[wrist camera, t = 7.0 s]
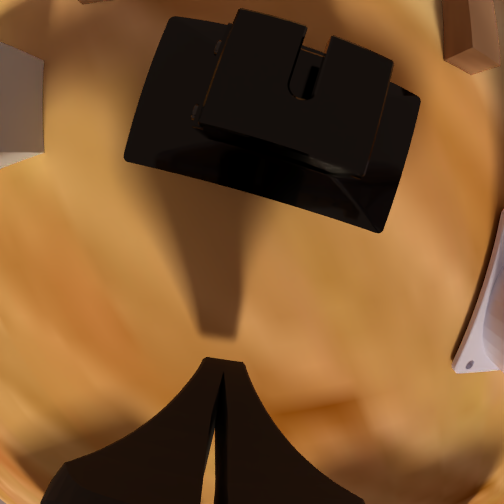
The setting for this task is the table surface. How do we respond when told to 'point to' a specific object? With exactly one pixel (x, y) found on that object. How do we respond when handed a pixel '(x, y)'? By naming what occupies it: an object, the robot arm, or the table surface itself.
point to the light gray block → (20, 105)
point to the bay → (464, 34)
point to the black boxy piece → (276, 116)
